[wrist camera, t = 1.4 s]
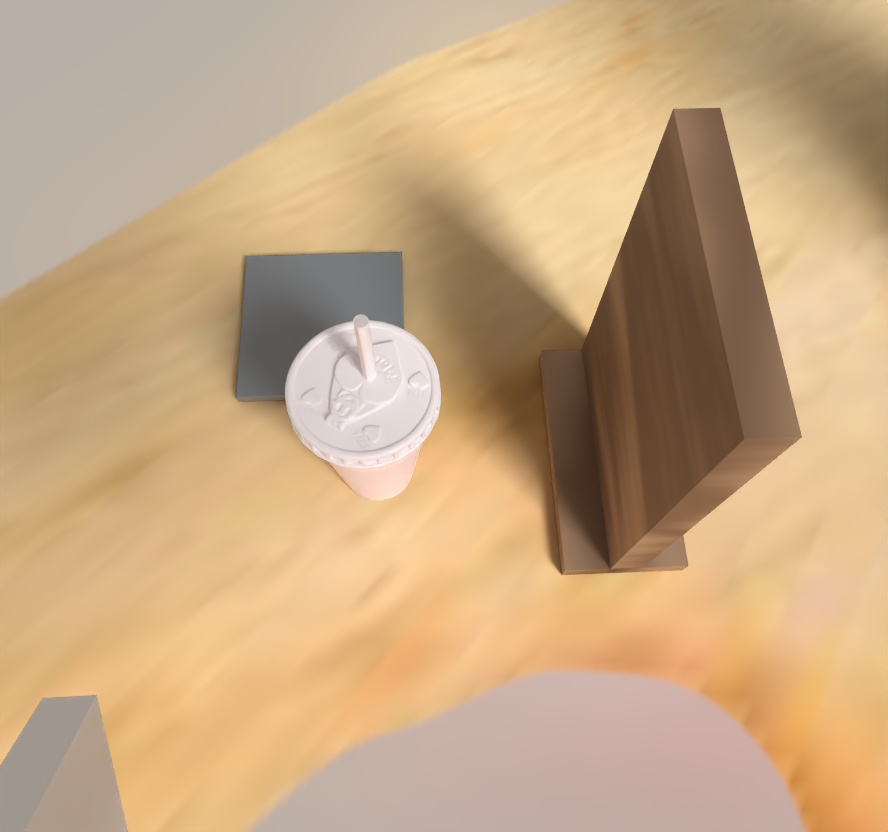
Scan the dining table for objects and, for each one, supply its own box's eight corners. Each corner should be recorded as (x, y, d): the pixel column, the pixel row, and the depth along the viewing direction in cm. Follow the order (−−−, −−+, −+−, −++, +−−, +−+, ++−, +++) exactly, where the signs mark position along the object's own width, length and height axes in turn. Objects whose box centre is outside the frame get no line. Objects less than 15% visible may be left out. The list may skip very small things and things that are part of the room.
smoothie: (462, 448, 40) (476, 308, 27) (396, 550, 37) (376, 450, 25) (362, 390, 41) (329, 230, 28) (292, 485, 39) (221, 358, 26)
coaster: (402, 257, 44) (401, 252, 44) (405, 396, 41) (405, 391, 40) (248, 262, 44) (246, 256, 44) (238, 401, 41) (236, 396, 40)
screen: (646, 355, 42) (784, 106, 26) (682, 569, 37) (880, 434, 21) (539, 359, 42) (608, 110, 25) (561, 574, 37) (664, 441, 21)
